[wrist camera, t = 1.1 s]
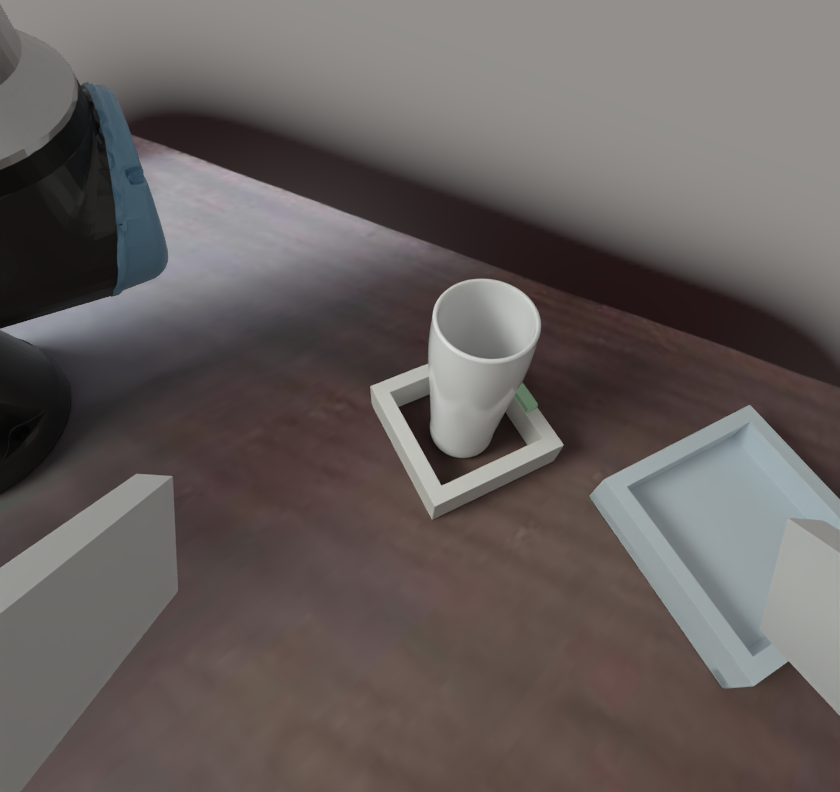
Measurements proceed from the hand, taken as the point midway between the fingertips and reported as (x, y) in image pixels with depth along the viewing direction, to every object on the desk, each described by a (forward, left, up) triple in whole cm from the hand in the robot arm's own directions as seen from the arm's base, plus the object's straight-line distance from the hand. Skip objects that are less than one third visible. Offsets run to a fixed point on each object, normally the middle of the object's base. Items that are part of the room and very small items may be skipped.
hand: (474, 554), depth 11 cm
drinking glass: (-14, +11, -28) cm, 33 cm away
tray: (+3, +25, -28) cm, 37 cm away
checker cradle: (-14, +11, -28) cm, 33 cm away
